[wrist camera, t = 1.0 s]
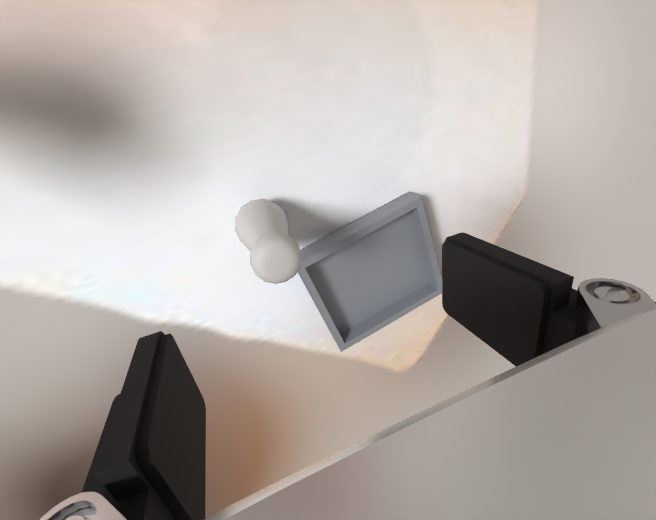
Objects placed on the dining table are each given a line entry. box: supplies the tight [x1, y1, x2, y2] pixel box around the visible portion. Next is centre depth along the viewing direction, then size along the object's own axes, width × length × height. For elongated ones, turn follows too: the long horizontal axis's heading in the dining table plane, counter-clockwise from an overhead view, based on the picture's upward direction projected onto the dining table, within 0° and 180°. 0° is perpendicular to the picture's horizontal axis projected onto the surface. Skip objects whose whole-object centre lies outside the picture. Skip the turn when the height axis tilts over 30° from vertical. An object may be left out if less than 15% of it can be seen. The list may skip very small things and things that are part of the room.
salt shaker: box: [235, 199, 302, 284], centre depth 31 cm, size 6×6×13 cm
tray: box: [298, 192, 442, 352], centre depth 43 cm, size 18×16×3 cm
